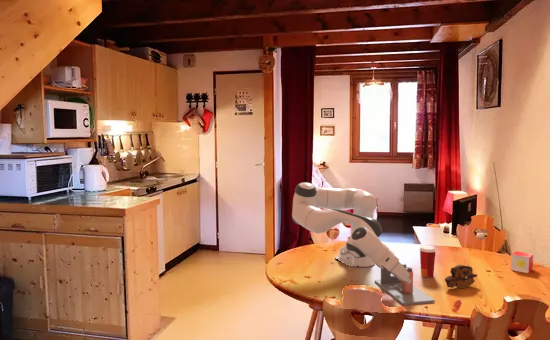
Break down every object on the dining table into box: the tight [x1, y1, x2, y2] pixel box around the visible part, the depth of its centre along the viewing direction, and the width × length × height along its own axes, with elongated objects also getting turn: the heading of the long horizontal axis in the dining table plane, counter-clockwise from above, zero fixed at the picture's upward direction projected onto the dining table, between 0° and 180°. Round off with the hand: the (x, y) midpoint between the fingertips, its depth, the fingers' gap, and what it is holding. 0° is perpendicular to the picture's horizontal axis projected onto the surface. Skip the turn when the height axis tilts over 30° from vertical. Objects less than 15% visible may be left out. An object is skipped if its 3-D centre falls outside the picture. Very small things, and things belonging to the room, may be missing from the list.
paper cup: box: [418, 245, 437, 278], centre depth 215 cm, size 8×8×14 cm
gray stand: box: [374, 263, 436, 306], centre depth 195 cm, size 28×14×9 cm, turn 11°
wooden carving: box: [444, 264, 478, 289], centre depth 199 cm, size 16×5×10 cm, turn 114°
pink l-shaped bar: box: [391, 266, 414, 294], centre depth 198 cm, size 19×4×10 cm, turn 11°
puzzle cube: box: [510, 250, 534, 274], centre depth 222 cm, size 8×8×8 cm
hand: (404, 278), depth 190 cm, fingers open, 8 cm apart
